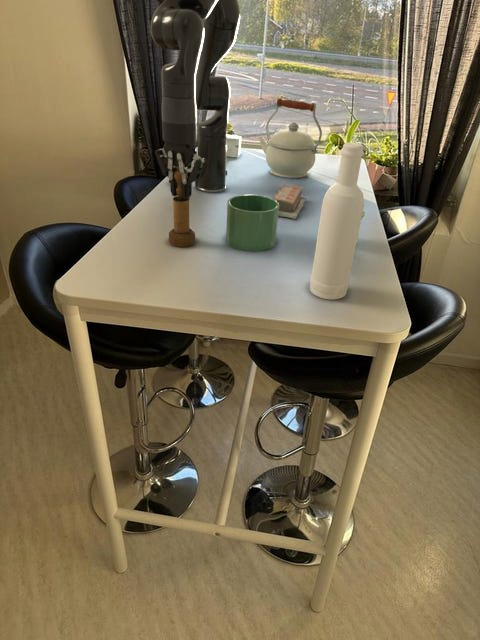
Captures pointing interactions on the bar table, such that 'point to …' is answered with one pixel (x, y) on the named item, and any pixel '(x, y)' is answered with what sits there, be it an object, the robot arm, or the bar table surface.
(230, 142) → the white small box
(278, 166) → the kettle
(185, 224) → the brown knobbed turned figurine
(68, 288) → the bar table surface
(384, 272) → the bar table surface
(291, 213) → the packaged product
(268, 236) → the cup
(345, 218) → the bottle
